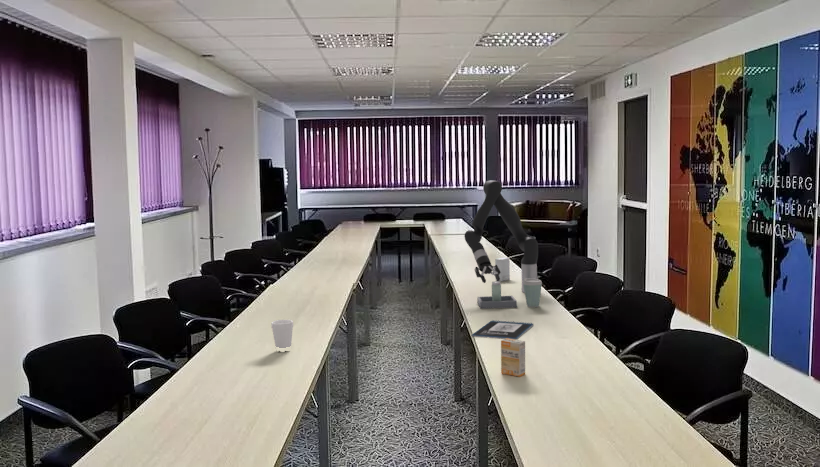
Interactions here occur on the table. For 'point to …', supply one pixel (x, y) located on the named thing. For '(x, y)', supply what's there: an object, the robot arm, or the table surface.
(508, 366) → the supplement box
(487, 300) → the tray
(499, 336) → the sketchbook
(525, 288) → the disposable coffee cup
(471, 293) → the table surface
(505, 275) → the skincare box
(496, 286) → the shaker
